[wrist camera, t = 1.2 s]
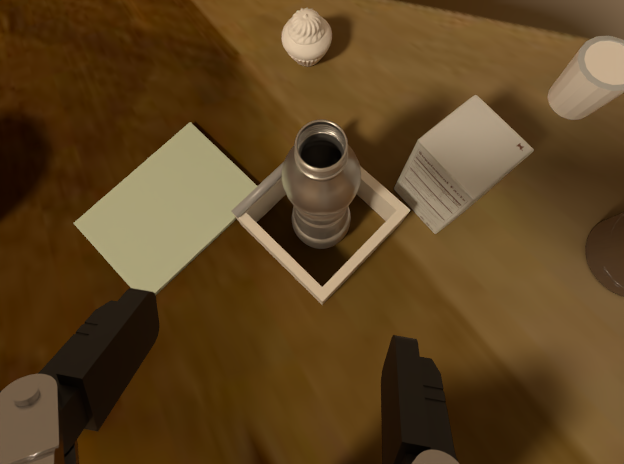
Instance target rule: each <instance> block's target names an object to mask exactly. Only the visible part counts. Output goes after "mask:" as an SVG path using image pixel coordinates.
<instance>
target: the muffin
mask: <svg viewBox="0 0 624 464" xmlns="http://www.w3.org/2000/svg"><path fill="white" fill-rule="evenodd" d="M331 41H332V31H331V27H330V25H329V24H328V22H327V21H326V20H325V19H324V18H322V17H321V16H319V14H318V12H316V11H314V10H313V9H308V8H305V9H303V8H301V10H300V11H299V10H297V11H296V13H295V14H293V17H292V18H291V19H290V20H289V21H288V22H287V23H286V24H285V26H284V28H283V31H282V44H283V46H284V48H285V50H286V51H287V52H288V53H289V56H291V57H292V58H293V59H294V60H295V61H296V62H297V63H299V64H300V65H303V66H305V67H306V66H313V65H315V64H316V63H317V62H318V61H319V60H320V59H321V58H322V57H323V56H324V55H325V54H326V52H327V51H328V49H329V47H330V44H331Z"/></svg>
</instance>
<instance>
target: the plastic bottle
mask: <svg viewBox="0 0 624 464" xmlns="http://www.w3.org/2000/svg"><path fill="white" fill-rule="evenodd" d="M360 181H361V168H360V165H359V161H358V159H357V157H356V155H355V153H354V151H353V150H352V149H351V147H350V146H349V145H348V141H347V137H346V135H345V133H344V131H343V130H342V128H341V127H340V126H338V125H337V124H336V123H334V122H332V121H328V120H315V121H311V122H309V123H307V124H306V125H305V126H303V127H302V128H301V129H300V131H299V132H298V134H297V136H296V139H295V145H294V146H293V147H292V148H291V150H290V151H289V153H288V155H287V156H286V158H285V161H284V164H283V167H282V184H283V188H284V190H285V192H286V194H287V197H288V199H289V200H290V201H291V203H292V204H293V205H294V207H293V211H292V226H293V229H294V231H295V233H296V235H297V236H298V238H299V239H300V240H301V241H302V242H303V243H305V244H306V245H308V246H310V247H313V248H317V249H326V248H329V247H332V246H334V245H336V244H337V243H338V242H340V241H341V240H342V239H343V238H344V237H345V235H346V234H347V232H348V230H349V227H350V221H351V216H350V209H349V204H350V203H351V202H352V201H353V199H354V197H355V195H356V194H357V191H358V189H359V186H360Z"/></svg>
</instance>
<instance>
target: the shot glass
mask: <svg viewBox="0 0 624 464" xmlns="http://www.w3.org/2000/svg"><path fill="white" fill-rule="evenodd" d="M622 93H624V40H622V39H619V38H616V37H612V36H597V37H595V38H593V39H590V40H588V41H586V42H585V44H584V45H583V46H582V47H581V48H580V50H579V51H578V52H577V54H576V55H575V56H574V58H573V59H572V60H571V61H570V63H569V64H568V65H567V67H566V68H565V69H564V71H563V72H562V73H561V75H560V76H559V77H558V79H557V80H556V81H555V83H554V84H553V85H552V87H551V88H550V89H549V93H548V101H549V105H550V106H551V108H552V109H553V111H554V112H555V113H557V114H558V115H560V116H561V117H563V118H566V119H570V120H578V119H582V118H584V117H586V116H588V115H590V114H591V113H593V112H594V111H596V110H598V109H599V108H601V107H602V106H604V105H605V104H607V103H608V102H610V101H612V100H613V99H615V98H616V97H618V96H619V95H621V94H622Z"/></svg>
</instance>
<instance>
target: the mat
mask: <svg viewBox="0 0 624 464" xmlns="http://www.w3.org/2000/svg"><path fill="white" fill-rule="evenodd" d="M256 187H257V185H256V184H255V183H254V182H253V181H252V180H251V179H249V178H248V177H247V176H246V175H245V174H244V173H243V172H242V171H241V170H240V169H239V168H238V167H237V166H236V165H235V164H234V163H233V162H232V161H231V160H230V159H228V158H227V157H226V156H225V155H224V154H223V153H222V152H221V151H220V150H219V149H218V148H217V147H216V146H215V145H214V144H213V143H212V142H211V141H210V140H209V139H208V138H206V137H205V136H204V135H203V134H202V133H201V132H200V131H199V130H198V129H197V128H196V127H195V126H194V125H193V124H192V123H191V122H190V123H189V124H187V125H186V126H185V127H184V128H183V129H182V130H180V131H179V132H178V133H177V134H176V135H175V136H174V137H172V138H171V139H170V140H169V141H168V142H167V143H165V144H164V145H163V146H162V147H161V148H160V149H159V150H157V151H156V152H155V153H154V154H153V155H152V156H150V157H149V158H148V159H147V160H146V161H145V162H144V163H142V164H141V165H140V166H139V167H138V168H137V169H135V170H134V171H133V172H132V173H131V174H130V175H129V176H127V177H126V178H125V179H124V180H123V181H122V182H120V183H119V184H118V185H117V186H116V187H115V188H114V189H112V190H111V191H110V192H109V193H108V194H107V195H105V196H104V197H103V198H102V199H101V200H100V201H99V202H97V203H96V204H95V205H94V206H93V207H92V208H90V209H89V210H88V211H87V212H86V213H85V214H84V215H82V216H81V217H80V218H79V219H78V220H77V221H75V222H74V224H75V226H76V227H77V228H78V229H79V230H80V231H81V232H82V233H83V235H84V236H85V237H86V238H87V239H88V240H89V241H90V242H91V244H92V245H93V246H94V247H95V248H96V249H97V250H98V251H99V252H100V254H101V255H102V256H103V257H104V258H105V259H106V260H107V261H108V263H109V264H110V265H111V266H112V267H113V268H114V269H115V270H116V272H117V273H118V274H119V275H120V276H121V277H122V278H123V279H124V281H125V282H126V283H127V284H128V285H129V286H130V287H131V288H134V289H140V290H146V291H151V292H154V293H155V295H156V294H157V293H159V292H160V291H161V290H162V289H163V288H164V287H165V286H166V285H167V284H168V283H169V282H170V281H171V280H172V279H173V278H174V277H176V276H177V275H178V274H179V273H180V272H181V271H182V270H183V269H184V268H185V267H186V266H187V265H188V264H189V263H190V262H191V261H192V260H194V259H195V258H196V257H197V256H198V255H199V254H200V253H201V252H202V251H203V250H204V249H205V248H206V247H207V246H208V245H209V244H211V243H212V242H213V241H214V240H215V239H216V238H217V237H218V236H219V235H220V234H221V233H222V232H223V231H224V230H225V229H226V228H227V227H229V226H230V225H231V224H232V223H233V222H234V221H235V220H236V219H237V218H236V217H235V216H234V214H233V213H232V212H231V211H232V210H233V209H234V208H235V207H236V206H237V205H238V204H239V203H240V202H241V201H242V200H243V199H244V198H246V197H247V196H248V195H249V194H250V193H251V192H252V191H253V190H254V189H255V188H256Z"/></svg>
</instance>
